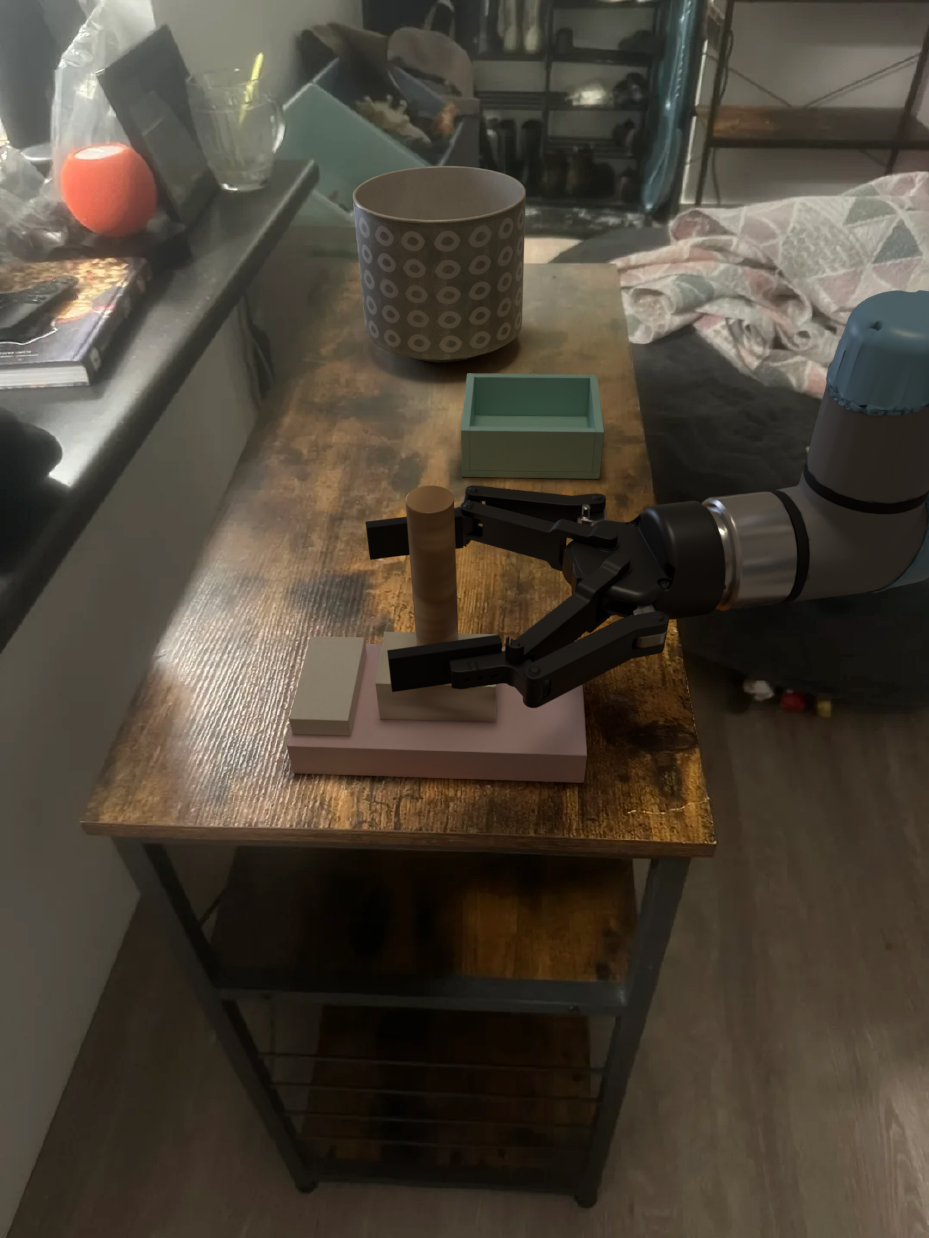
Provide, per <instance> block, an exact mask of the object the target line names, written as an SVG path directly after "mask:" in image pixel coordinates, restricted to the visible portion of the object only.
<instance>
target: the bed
mask: <svg viewBox="0 0 929 1238" xmlns="http://www.w3.org/2000/svg"><path fill="white" fill-rule="evenodd" d="M381 648H382V643H366V638H365V637H362V636H361V637H359V636H323V635H322V636H320V635H319V636H317V635H311V636H310V637H309V642H308V645H307V650H306V653H305V656H304V659H303V664H302V668H301V671H300V676H299V679H298V682H297V687H296V689H295V690H296V691H295V694H294V698H293V702H292V705H291V709H290V713H289V717H288V721H289V725H290V731H289V735H288V739H287V741H286V742H287V743H286V749H287V753H288V756H289V761H290V766H291V769H292V773H293V774H304V775H305V774H307V775H337V776H363V777H364V776H365V777H367V776H368V777H394V778H395V777H397V778H423V779H424V778H427V779H455V780H457V779H459V780H485V781H486V780H489V781H490V780H491V781H514V782H515V781H517V782H518V781H519V782H520V781H521V782H548V783H549V782H550V783H551V782H552V783H579V784H583V783H584V782H585V775H586V767H587V760H588V759H587V758H588V749H587V747H588V746H587V745H588V744H587V731H586V716H585V715H586V714H585V713H586V712H585V698H584V684H582V685H580V686H579V687H577V688H575V689H573V690H571V691H569V692H567V693H565V694H563V695H561V696H559V697H557V698H556V699H554V700H552V701H550V702H548V703H546V704H544V705H542V706H540V707H538V708H529V707H527V706H526V705H524V703H523V696H522V695H521V694H520V693H519V692H518V690H517V689H516V688H515V687H511V686H509V685H508V684H505V683H503V684H498V685H497V712H496V722H469V721H435V720H401V719H380V717H379V709H378V702H377V694H376V686H375V682H376V676H377V670H378V665H379V659H380V653H381ZM502 651H505V646H502Z"/></svg>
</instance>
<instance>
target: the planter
mask: <svg viewBox="0 0 929 1238" xmlns="http://www.w3.org/2000/svg"><path fill="white" fill-rule="evenodd" d="M526 192H527V190H526V188H525V186H524V185H523V184H522V182H521V181H520V180H518V179H516V178H515V177H513V176H511V175H509V174H506V173H503V172H500V171H496V170H493V169H492V170H491V169H486V168H480V167H474V166H473V167H472V166H463V165H462V166H458V165H432V166H418V167H410V168H404V169H403V168H402V169H398V170H393V171H390V172H386V173H385V172H384V173H382V174H379V175H376V176H373V177H370V178H369V179H367V180H365V181H363V182H362V183H360V184H359V185H358V186H357V187H356V188H355V189H354V191H353V193H352V206H353V216H354V223H355V224H354V226H355V227H354V228H355V234H356V235H355V236H356V237H355V238H356V247H357V257H358V258H357V259H358V267H359V268H358V269H359V278H360V287H361V288H360V289H361V299H362V308H363V318H364V330H365V333H366V335H367V337H368V339H369V340H370V341H371V342H372V343H373V344H374V345H376V346H378V347H379V348H381V349H383V350H385V351H387V352H389V353H393V354H395V355H397V356H398V355H399V356H403V357H407V358H413V359H415V360H418V361H424V362H428V363H440V364H441V363H442V364H443V363H445V364H446V363H454V362H455V363H456V362H460V361H461V362H462V361H465V360H469V359H472V358H475V357H477V356H481V355H485V354H488V353H492V352H494V351H497V350H499V349H501V348H503V347H505V346H506V345H508V344H510V343H511V342H512V341H514V340H515V339H516V338H517V337H518V335H519V334H520V332H521V330H522V328H523V327H522V326H523V307H524V305H523V303H524V302H523V301H524V267H525V265H524V264H525V235H526V233H525V229H526V202H527V201H526V198H527V196H526V195H527V193H526Z"/></svg>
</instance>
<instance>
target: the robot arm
mask: <svg viewBox="0 0 929 1238" xmlns="http://www.w3.org/2000/svg"><path fill="white" fill-rule="evenodd" d="M845 323H846V324H845V326H844V329H843V332H842V334H841V337H840V339H839V340H838V343H837V346H836V350H835V353H834V355H833V358H832V360H831V362H830V363H829V365H828V366H827V372H826V377H825V382H826V383H825V386H824V391H823V394H822V398H821V402H820V406H819V410H818V413H817V417H816V421H815V423H814V429H813V432H812V436H811V440H810V444H809V448H808V451H807V455H806V458H805V461H804V465H803V469H802V473H801V475H800V479H799V482H798V484H797V485H795V486H789V487H783V488H779V489H774V490H765V491H755V492H747V493H738V494H728V495H720V496H710V497H708V498H706V499H704V500H703V501H702V502H700V501H697V500H686V501H679V502H671V503H663V504H653V505H650V506H649V505H648V506H647V507H646V508H644V509H643V510H641V512H640V513H639V514H638V515H637V516H636V517H635V518H633V519H632V520H630V521H617V520H611V519H609V517H608V514H607V512H606V507H607V505H606V504H607V496H605V494H603V493H595V492H594V493H586V494H584V493H583V494H573V495H571V494H570V495H569V494H561V493H551V492H543V491H542V492H541V491H533V490H532V491H531V490H523V489H514V488H513V489H512V488H505V487H504V488H503V487H495V486H486V485H485V486H484V485H475V484H472V485H468V486H465V489H464V498H463V501H462V502H461V504H460V505H458V507H454V516H455V547H456V550H458V549H464V548H467V546H468V545H469V544H470V543H471V542H472V541H473V542H477V543H480V544H484V545H487V546H491V547H494V548H497V549H500V550H501V549H502V550H505V551H508V552H512V553H516V554H519V555H523V556H525V557H529V558H533V559H537V560H540V561H544V562H546V563H547V564H548V565H549V567H550V568H551V569H553V570H555V571H559V572H561V573H562V577H563V578H564V581H565V582H567V583H568V585H569V586H570V588H571V595H569V596H568V597H567V598H566V599H565V600H563V601H562V602H561V603H560V604H558V605H557V606H556V607H555V608H554V609H552V610H551V611H549V612H548V613H547V614H546V615H544V616H543V617H542V618H540V619H539V620H538V621H537V622H535V623H534V624H533V625H531V626H530V627H529V628H527V630H525V631H523V633H522V634H520V635H519V636H518V637H516V638H515V639H514V638H512V637H511V638H510V636H509V635H507V636H506V637H505V640H504V641H505V642H504V645H505V646H504V647H505V651H502V647H503V641H502V639H501V635H500V634H497V635H492V636H485V637H477V638H470V639H463V640H456V641H449V642H442V643H435V644H428V645H421V646H414V647H407V648H399V649H392V650H387V654H388V663H389V672H390V681H391V688H392V692H398V691H404V690H411V689H418V688H425V687H432V686H439V685H445V684H451V686H452V688H454V689H468V688H471V687H472V688H475V687H478V686H479V687H481V686H488V685H495V684H503V683H505V684H508V685H509V686H511V687H515V688H516V689H517V690H518V692H519V693H520V694H521V695H522V696H523V703H524V705H526V706H527V707H529V708H538V707H540V706H542V705H544V704H546V703H548V702H550V701H552V700H554V699H556V698H557V697H559V696H561V695H563V694H565V693H567V692H569V691H571V690H573V689H575V688H577V687H579V686H580V685H582V684H583V685H584V684H586V683H588V682H590V681H592V680H594V679H596V678H598V677H600V676H601V675H603V674H606V673H607V672H609V671H611V670H613V669H615V668H617V667H618V666H621V665H623V664H624V663H626V662H629V661H630V660H633V659H638V658H642V657H649V656H656V655H659V654H662V652H664V650H665V645H666V640H667V636H668V635H667V634H668V629H669V624H670V620H677V619H678V620H679V619H684V618H692V617H699V616H700V617H701V616H706V615H710V614H711V613H713V612H714V610H716V611H719V612H722V613H723V612H729V611H736V610H738V611H739V610H744V609H753V608H759V607H764V606H765V607H766V606H773V605H780V604H786V603H794V602H801V601H807V600H808V601H810V600H817V599H825V598H834V597H841V596H849V595H850V596H851V595H858V594H864V595H868V594H878V593H881V592H884V591H886V590H889V589H893V588H897V587H900V586H906V585H911V584H915V583H919V582H922V581H926V580H927V579H929V290H925V289H924V290H923V289H918V290H916V291H905V290H901V289H899V290H898V289H895V290H888V291H882V292H880V293H876V294H874V295H871V296H869V297H866V298H865V299H863V300H862V301H861V302H859V303H858V304H857V305H856V306H855V307H854V308H853V310H852V311H850V314H849V316H848V318H847V319H846V322H845ZM483 502H484V503H483ZM481 525H482V526H481ZM365 529H366V538H367V547H368V553H369V554H368V555H369V560H370V561H373V560H381V559H388V558H389V559H390V558H397V557H404V556H410V553H409V540H408V527H407V516H400V517H393V518H391V517H390V518H383V519H376V520H366V521H365ZM568 539H570V540H571V541H569V542H568ZM612 616H613V617H614V616H617V617H620V619H618V620H615V621H613V622H611V623H609V624H608V625H605V626H603V627H601V628H599V627H600V626H601V625H602V624H604V623H605V622H606V621H607V620H608V619H610V618H611V617H612ZM598 628H599V629H598ZM596 629H597V630H596ZM585 633H589V634H587V635H585V636H583V635H584V634H585ZM582 636H583V637H582Z"/></svg>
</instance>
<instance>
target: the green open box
mask: <svg viewBox="0 0 929 1238" xmlns="http://www.w3.org/2000/svg"><path fill="white" fill-rule="evenodd" d="M465 380H466V381H465V391H464V399H463V407H462V416H461V427H460V451H461V453H460V454H461V456H460V457H461V477H462V478H503V479H504V478H506V479H507V478H508V479H509V478H511V479H573V480H574V479H576V480H577V479H579V480H580V479H581V480H584V479H585V480H600V478H601V467H602V458H603V457H602V456H603V449H604V438H605V427H604V421H603V420H604V419H603V411H602V402H601V395H600V386H599V378H598V374H579V373H578V374H577V373H576V374H575V373H573V374H572V373H568V374H567V373H474V372H472V373H470V372H469V373H468V372H467V374H466V379H465Z"/></svg>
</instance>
